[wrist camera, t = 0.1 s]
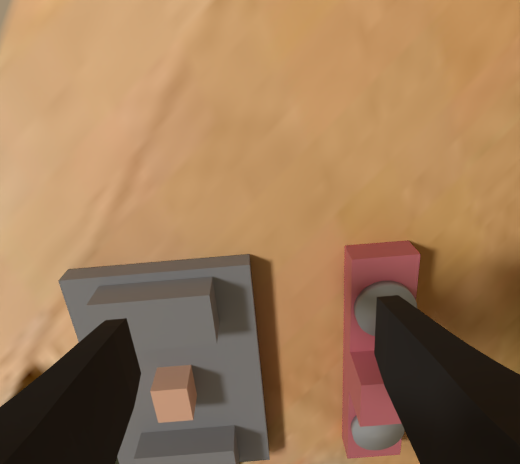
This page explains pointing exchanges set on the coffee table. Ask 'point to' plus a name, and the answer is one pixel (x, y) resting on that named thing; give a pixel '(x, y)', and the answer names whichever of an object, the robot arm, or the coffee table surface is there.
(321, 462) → the coffee table surface
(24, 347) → the coffee table surface
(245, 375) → the display stand
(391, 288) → the frame bar
